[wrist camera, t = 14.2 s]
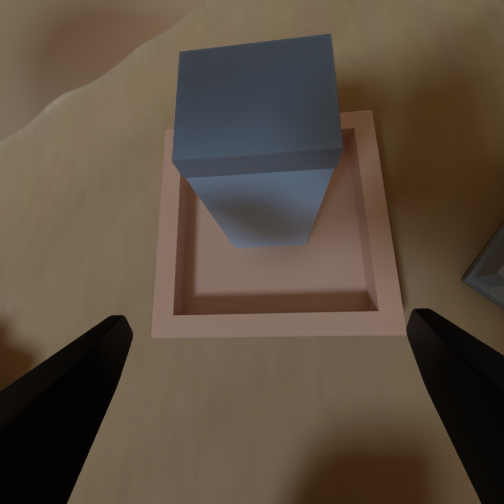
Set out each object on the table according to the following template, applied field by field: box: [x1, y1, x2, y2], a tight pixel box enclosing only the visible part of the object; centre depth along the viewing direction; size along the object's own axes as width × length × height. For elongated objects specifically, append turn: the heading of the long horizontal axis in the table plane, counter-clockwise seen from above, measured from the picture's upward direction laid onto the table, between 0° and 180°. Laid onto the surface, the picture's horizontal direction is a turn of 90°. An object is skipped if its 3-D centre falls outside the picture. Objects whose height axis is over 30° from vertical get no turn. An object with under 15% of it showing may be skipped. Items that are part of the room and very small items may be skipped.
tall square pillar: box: [172, 34, 344, 248], centre depth 16 cm, size 5×6×13 cm
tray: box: [151, 110, 407, 338], centre depth 21 cm, size 18×18×2 cm
